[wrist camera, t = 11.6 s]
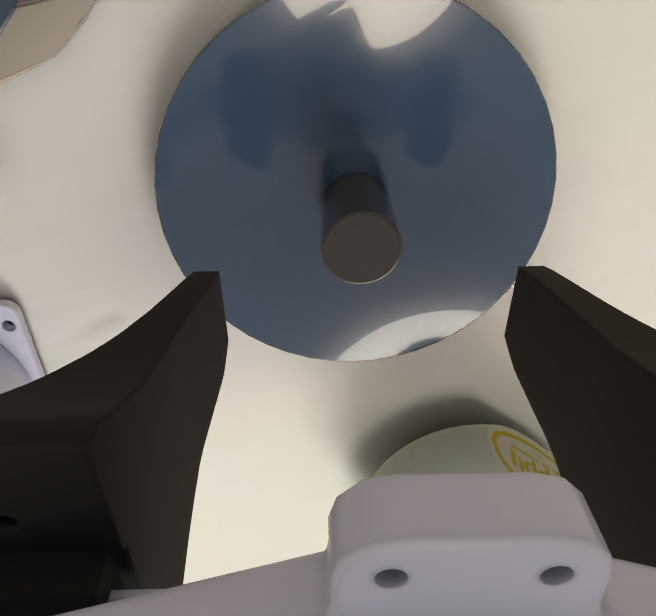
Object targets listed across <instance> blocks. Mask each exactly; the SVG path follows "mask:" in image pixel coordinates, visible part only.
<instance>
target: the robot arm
mask: <svg viewBox="0 0 656 616" xmlns="http://www.w3.org/2000/svg"><path fill="white" fill-rule="evenodd" d="M6 320H8V321H11V322H13V323H14V325H15V326H14V325H11V324H9V323H8V322H7V321H6ZM505 339H506V343H507V347H508V350H509V354H510V357H511V361H512V364H513V367H514V370H515V372H516V375H517V377H518V379H519V381H520V383H521V386H522V388H523V390H524V392H525V394H526V396H527V399H528V401H529V403H530V405H531V407H532V409H533V411H534V413H535V415H536V418H537V420H538V422H539V424H540V426H541V428H542V430H543V432H544V435H545V437H546V439H547V441H548V443H549V446H550V448H551V451H552V453H553V455H554V458H555V461H556V464H557V467H558V470H559V473H560V476H561V477H557V476H551V475H545V474H539V473H534V472H501V473H444V474H391V475H386V476H381V477H376V478H371V479H365V480H362V481H360V482H359V483H357V484H356V485H354V486H353V487H351V488H350V489H348V490H347V491H345V492H344V493H342V494H341V495H339V496H338V497H336V500H335V502H334V505H333V507H332V510H331V512H330V515H329V517H328V526H329V540H328V545H327V548H326V550H325V551H322V552H318V553H314V554H310V555H306V556H301V557H297V558H293V559H289V560H285V561H280V562H276V563H272V564H268V565H264V566H259V567H255V568H251V569H247V570H243V571H238V572H234V573H230V574H226V575H222V576H217V577H213V578H209V579H205V580H201V581H196V582H192V583H188V584H184V585H183V579H184V571H185V563H186V555H187V547H188V539H189V532H190V525H191V518H192V511H193V504H194V497H195V491H196V485H197V478H198V472H199V466H200V461H201V456H202V452H203V448H204V444H205V440H206V437H207V433H208V430H209V426H210V423H211V419H212V416H213V412H214V408H215V405H216V401H217V398H218V394H219V390H220V387H221V383H222V379H223V376H224V370H225V363H226V355H227V347H228V334H227V326H226V319H225V311H224V304H223V296H222V289H221V281H220V274H219V271H194V272H193V273H191V274H190V275H189V276H188V277H187V278H186V279H184V280H183V281H182V282H181V283H180V284H179V285H178V286H177V287H176V288H175V289H174V290H172V291H171V292H170V293H169V294H168V295H167V296H166V297H165V298H163V299H162V300H161V301H160V302H159V303H158V304H157V305H155V306H154V307H153V308H152V309H151V310H150V311H148V312H147V313H146V314H145V315H143V316H142V317H141V318H139V319H138V320H137V321H136V322H134V323H133V324H132V325H130V326H129V327H128V328H127V329H125V330H124V331H123V332H121V333H120V334H118V335H117V336H115V337H114V338H112V339H111V340H110V341H108V342H106V343H105V344H103V345H102V346H100V347H98V348H97V349H95V350H94V351H92V352H90V353H88V354H87V355H85V356H83V357H81V358H79V359H77V360H75V361H73V362H71V363H70V364H68V365H66V366H64V367H62V368H60V369H58V370H56V371H54V372H52V373H50V374H48V375H46V376H45V373H44V371H43V368H42V365H41V362H40V360H39V357H38V354H37V352H36V349H35V346H34V343H33V341H32V338H31V335H30V332H29V330H28V327H27V324H26V322H25V319H24V316H23V313H22V311H21V309H20V307H19V306H18V305H17V304H16V303H15V302H12V301H10V300H0V616H656V329H654V328H652V327H650V326H648V325H646V324H644V323H642V322H640V321H638V320H636V319H634V318H633V317H631V316H629V315H627V314H625V313H623V312H622V311H620V310H618V309H616V308H615V307H613V306H611V305H609V304H608V303H606V302H604V301H603V300H601V299H599V298H598V297H596V296H594V295H593V294H591V293H589V292H588V291H586V290H584V289H583V288H581V287H580V286H578V285H576V284H575V283H573V282H572V281H570V280H568V279H567V278H565V277H563V276H562V275H560V274H558V273H556V272H555V271H553V270H551V269H549V268H547V267H545V266H518V271H517V276H516V281H515V286H514V291H513V296H512V301H511V306H510V311H509V316H508V321H507V326H506V331H505Z"/></svg>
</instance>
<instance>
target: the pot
mask: <svg viewBox="0 0 656 616" xmlns="http://www.w3.org/2000/svg"><path fill="white" fill-rule="evenodd" d="M95 2H96V0H0V85H1V84H3V83H4V82H6V81H8V80H10V79H12V78H14V77H16V76H18V75H20V74H22V73H24V72H26V71H28V70H31V69H32V68H34V67H36V66H37V65H39V64H41V63H43V62H45V61H47V60H49V59H51V58H53V57H55V55H57V54H58V53H59V52H60V50H61V49H62V47H63V46H64V44H66V43H67V42H68V41H69V40H70V39H71V37H72V36H73V35H74V34H75V32H76V31H77V30H78V29H79V27H80V26H81V25H82V24H83V22H84V21H85V19H86V18H87V16H88V14H89V12H90V11H91V9H92V7H93V5H94V3H95Z"/></svg>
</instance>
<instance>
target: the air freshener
mask: <svg viewBox="0 0 656 616" xmlns="http://www.w3.org/2000/svg"><path fill="white" fill-rule="evenodd" d="M501 472H534V473H539V474H545V475H551V476H557V477H561V476H560V473H559V470H558V467H557V464H556V461H555V458H554V456H553V455H551V454H550V453H549V452H548V451H546V450H545V449H544V448H543V447H541V446H540V445H539V444H537V443H536V442H534V441H533V440H531V439H530V438H528V437H527V436H525V435H523V434H522V433H520V432H518V431H516V430H514V429H512V428H509V427H506V426H502V425H492V424H474V425H462V426H457V427H451V428H446V429H443V430H440V431H437V432H433V433H430V434H428V435H426V436H423V437H421V438H419V439H417V440H415V441H413V442H411V443H409V444H408V445H406V446H405V447H403V448H401V449H400V450H398V451H397V452H396V453H395V454H393V455H392V456H391V457H390V458H389V459H387V460H386V461H385V462H384V463H383V464H382V465H381V467H380V468H379V469H378V470H377V471H376V472H375V473H374V475H373V476H372V477H371V478H376V477H381V476H386V475H391V474H444V473H501Z"/></svg>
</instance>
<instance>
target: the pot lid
mask: <svg viewBox="0 0 656 616" xmlns="http://www.w3.org/2000/svg"><path fill="white" fill-rule="evenodd" d="M555 181H556V147H555V139H554V131H553V125H552V122H551V118H550V114H549V111H548V107H547V104H546V101H545V98H544V96H543V94H542V92H541V90H540V87H539V85H538V83H537V81H536V78H535V76H534V75H533V73H532V72H531V70H530V69H529V67H528V65H527V64H526V62H525V61H524V59H523V58H522V56H521V55H520V53H519V52H518V51H517V50H516V49H515V47H514V46H513V45H512V44H511V43H510V42H509V41H508V40H507V39H506V37H505V36H504V35H503V34H502V33H501V32H500V31H499V30H498V29H496V28H495V27H494V26H493V25H492V24H490V23H489V22H488V21H487V20H485V19H484V18H483V17H482V16H481V15H479V14H478V13H477V12H475V11H473V10H472V9H470V8H468V7H466V6H465V5H463V4H461V3H460V2H458V1H456V0H265V1H263V2H262V3H260V4H258V5H256V6H255V7H253V8H251V9H250V10H248V11H246V12H245V13H243V14H242V15H240V16H239V17H238V18H237V19H235V20H234V21H233V22H232V23H230V24H229V25H228V26H227V27H225V28H224V29H223V30H222V31H221V32H219V33H218V34H217V35H216V36H215V37H214V38H213V39H212V41H211V42H210V43H209V44H208V45H207V46H206V47H205V48H204V49H203V50H202V51H201V53H200V54H199V55H198V56H197V57H196V58H195V60H194V61H193V63H192V64H191V66H190V67H189V69H188V70H187V72H186V73H185V75H184V76H183V77H182V79H181V80H180V82H179V84H178V86H177V88H176V90H175V93H174V95H173V97H172V99H171V101H170V103H169V105H168V107H167V110H166V114H165V117H164V120H163V123H162V126H161V129H160V133H159V139H158V145H157V151H156V157H155V192H156V201H157V209H158V213H159V217H160V221H161V225H162V229H163V232H164V235H165V237H166V240H167V242H168V245H169V247H170V250H171V252H172V255H173V256H174V258H175V260H176V262H177V264H178V265H179V267H180V269H181V271H182V272H183V274H184V276H185V277H186V278H187V277H188V276H189V275H190V274H191V273H193V272H194V271H219V274H220V281H221V289H222V296H223V304H224V311H225V319H226V320H227V321H228V322H229V323H230V324H232V325H233V326H235V327H236V328H238V329H240V330H241V331H243V332H244V333H246V334H247V335H249V336H251V337H253V338H255V339H257V340H259V341H261V342H263V343H265V344H267V345H269V346H272V347H275V348H278V349H280V350H283V351H286V352H289V353H293V354H297V355H301V356H305V357H309V358H315V359H322V360H330V361H366V360H377V359H382V358H388V357H394V356H398V355H402V354H405V353H409V352H412V351H416V350H419V349H421V348H424V347H426V346H429V345H431V344H434V343H437V342H439V341H441V340H442V339H444V338H446V337H448V336H450V335H452V334H454V333H456V332H458V331H459V330H461V329H462V328H464V327H465V326H467V325H468V324H470V323H471V322H473V321H474V320H476V319H477V318H478V317H479V316H481V315H482V314H483V313H484V312H485V311H487V310H488V309H489V308H490V307H491V306H493V305H494V304H495V303H496V302H497V301H498V299H499V298H500V297H501V296H502V295H503V294H504V293H505V292H506V291H507V290H508V289H509V288H510V287H511V285H512V284H513V283H514V281H515V280H516V276H517V271H518V266H526V265H527V263H528V261H529V259H530V258H531V256H532V254H533V253H534V251H535V249H536V247H537V245H538V242H539V240H540V238H541V236H542V233H543V231H544V229H545V226H546V223H547V219H548V216H549V212H550V209H551V206H552V201H553V194H554V188H555Z"/></svg>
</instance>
